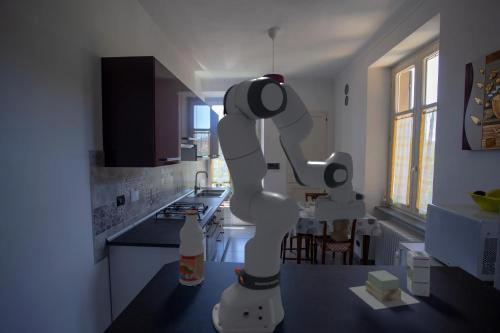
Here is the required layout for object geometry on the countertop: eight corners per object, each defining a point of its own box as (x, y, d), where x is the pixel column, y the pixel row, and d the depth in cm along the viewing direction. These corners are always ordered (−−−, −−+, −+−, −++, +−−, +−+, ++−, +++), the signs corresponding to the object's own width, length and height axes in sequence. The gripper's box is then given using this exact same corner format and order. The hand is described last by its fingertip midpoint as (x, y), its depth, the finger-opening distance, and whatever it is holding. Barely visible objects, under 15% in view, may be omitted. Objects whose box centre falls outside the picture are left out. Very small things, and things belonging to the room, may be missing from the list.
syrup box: (430, 297, 92) (431, 257, 92) (411, 295, 94) (412, 255, 93) (422, 289, 98) (424, 251, 97) (405, 287, 99) (406, 250, 98)
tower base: (381, 302, 89) (381, 292, 88) (365, 290, 96) (365, 281, 96) (401, 299, 90) (401, 289, 90) (384, 287, 98) (384, 278, 98)
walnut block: (337, 241, 97) (337, 220, 97) (330, 237, 102) (331, 217, 101) (347, 240, 98) (348, 219, 98) (340, 236, 103) (341, 216, 102)
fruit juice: (207, 283, 101) (207, 212, 100) (183, 290, 97) (182, 215, 95) (199, 274, 110) (199, 207, 108) (176, 279, 105) (176, 210, 104)
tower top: (381, 291, 89) (382, 281, 89) (367, 281, 96) (368, 272, 96) (398, 288, 91) (399, 279, 90) (384, 279, 97) (384, 270, 97)
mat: (374, 310, 84) (374, 309, 84) (348, 288, 98) (348, 287, 98) (420, 303, 89) (420, 302, 89) (389, 283, 102) (389, 282, 102)
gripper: (319, 197, 94) (318, 235, 94) (368, 195, 99) (367, 231, 99) (311, 194, 100) (310, 230, 100) (357, 192, 105) (357, 227, 105)
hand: (339, 230), depth 100 cm, fingers closed on walnut block, 4 cm apart
